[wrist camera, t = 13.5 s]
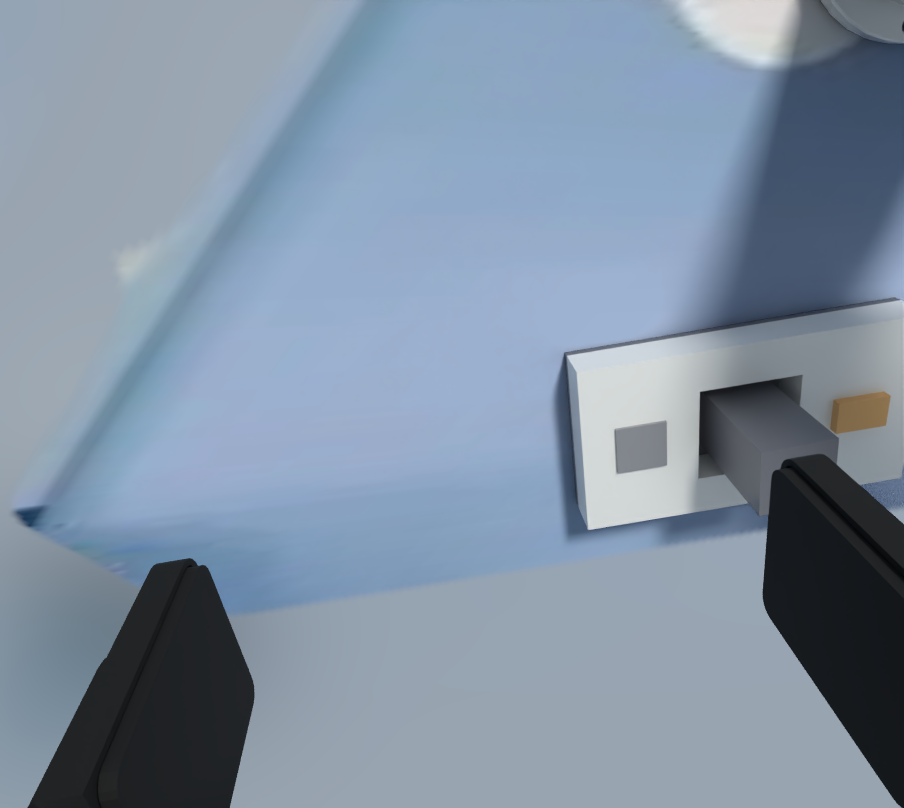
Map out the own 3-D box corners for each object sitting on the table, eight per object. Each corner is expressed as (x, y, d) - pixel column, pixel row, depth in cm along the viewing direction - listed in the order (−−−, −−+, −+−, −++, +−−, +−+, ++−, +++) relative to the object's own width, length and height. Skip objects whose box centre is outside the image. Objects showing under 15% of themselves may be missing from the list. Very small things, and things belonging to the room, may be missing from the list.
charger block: (762, 375, 41) (839, 438, 34) (760, 431, 43) (832, 502, 36) (698, 387, 41) (761, 453, 34) (699, 443, 43) (759, 516, 36)
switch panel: (894, 297, 40) (938, 317, 37) (871, 454, 45) (907, 483, 42) (564, 352, 40) (579, 376, 37) (576, 502, 45) (590, 535, 42)
